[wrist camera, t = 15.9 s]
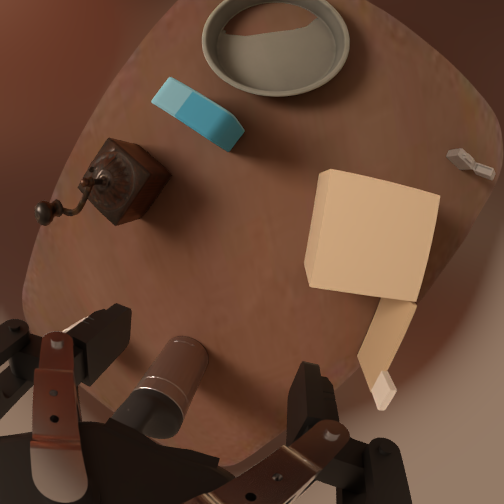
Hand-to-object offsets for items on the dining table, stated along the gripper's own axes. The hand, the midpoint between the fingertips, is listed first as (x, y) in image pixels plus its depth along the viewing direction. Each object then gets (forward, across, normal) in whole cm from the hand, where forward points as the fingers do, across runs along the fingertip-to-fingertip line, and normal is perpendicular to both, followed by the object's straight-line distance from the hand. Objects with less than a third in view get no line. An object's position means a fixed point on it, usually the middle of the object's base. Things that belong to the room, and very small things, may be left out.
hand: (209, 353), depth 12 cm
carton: (+38, -15, -4) cm, 41 cm away
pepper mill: (+38, +26, -1) cm, 46 cm away
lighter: (+38, -32, -22) cm, 54 cm away
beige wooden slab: (+37, -24, +11) cm, 45 cm away
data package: (+38, +14, -15) cm, 43 cm away
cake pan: (+38, +6, -33) cm, 51 cm away
